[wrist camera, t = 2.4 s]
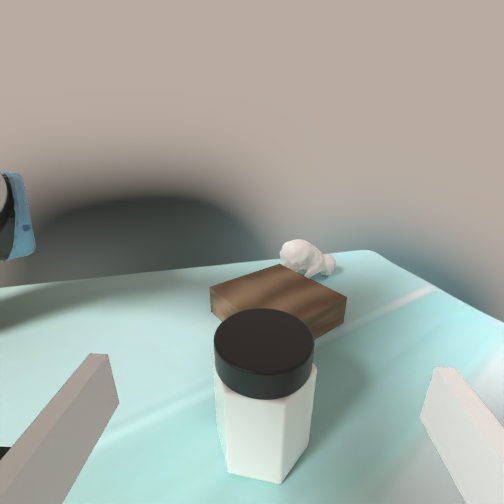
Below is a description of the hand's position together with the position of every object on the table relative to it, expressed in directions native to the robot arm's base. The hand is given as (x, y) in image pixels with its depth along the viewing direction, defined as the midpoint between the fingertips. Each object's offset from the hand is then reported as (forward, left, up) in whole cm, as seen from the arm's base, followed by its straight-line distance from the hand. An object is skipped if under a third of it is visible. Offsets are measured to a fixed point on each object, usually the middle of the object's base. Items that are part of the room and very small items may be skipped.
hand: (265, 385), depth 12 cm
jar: (-8, +6, -18) cm, 20 cm away
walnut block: (-22, +20, -18) cm, 35 cm away
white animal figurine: (-28, +35, -18) cm, 48 cm away
